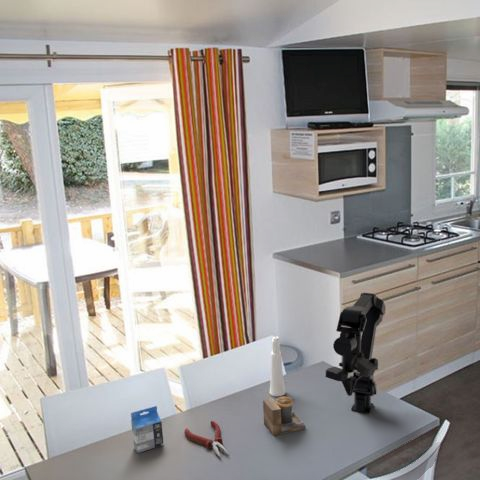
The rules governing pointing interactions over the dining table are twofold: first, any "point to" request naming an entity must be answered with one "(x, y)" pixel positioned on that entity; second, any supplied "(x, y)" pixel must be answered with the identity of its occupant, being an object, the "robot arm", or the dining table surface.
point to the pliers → (208, 440)
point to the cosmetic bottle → (276, 370)
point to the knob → (285, 410)
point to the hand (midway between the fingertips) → (349, 395)
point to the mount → (278, 419)
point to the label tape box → (146, 429)
